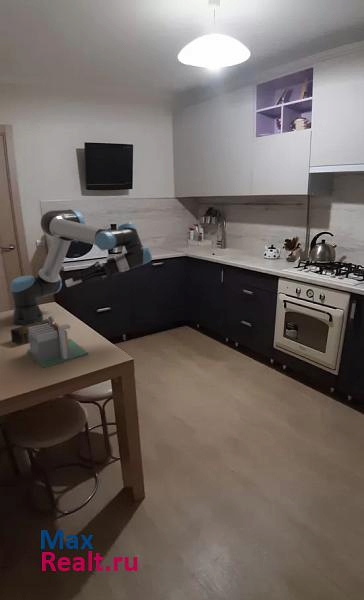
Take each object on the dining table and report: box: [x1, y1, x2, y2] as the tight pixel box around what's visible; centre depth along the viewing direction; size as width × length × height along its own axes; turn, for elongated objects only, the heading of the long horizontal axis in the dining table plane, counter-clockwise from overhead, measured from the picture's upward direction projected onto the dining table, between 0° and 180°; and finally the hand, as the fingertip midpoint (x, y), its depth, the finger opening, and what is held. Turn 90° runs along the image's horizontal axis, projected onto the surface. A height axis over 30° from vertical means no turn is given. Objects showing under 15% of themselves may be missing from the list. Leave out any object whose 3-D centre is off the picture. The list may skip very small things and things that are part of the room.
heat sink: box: [27, 323, 89, 369], centre depth 150 cm, size 20×19×14 cm
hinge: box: [47, 316, 69, 350], centre depth 151 cm, size 18×2×12 cm, turn 38°
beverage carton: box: [10, 318, 49, 346], centre depth 169 cm, size 8×19×7 cm, turn 144°
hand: (66, 283), depth 154 cm, fingers closed
